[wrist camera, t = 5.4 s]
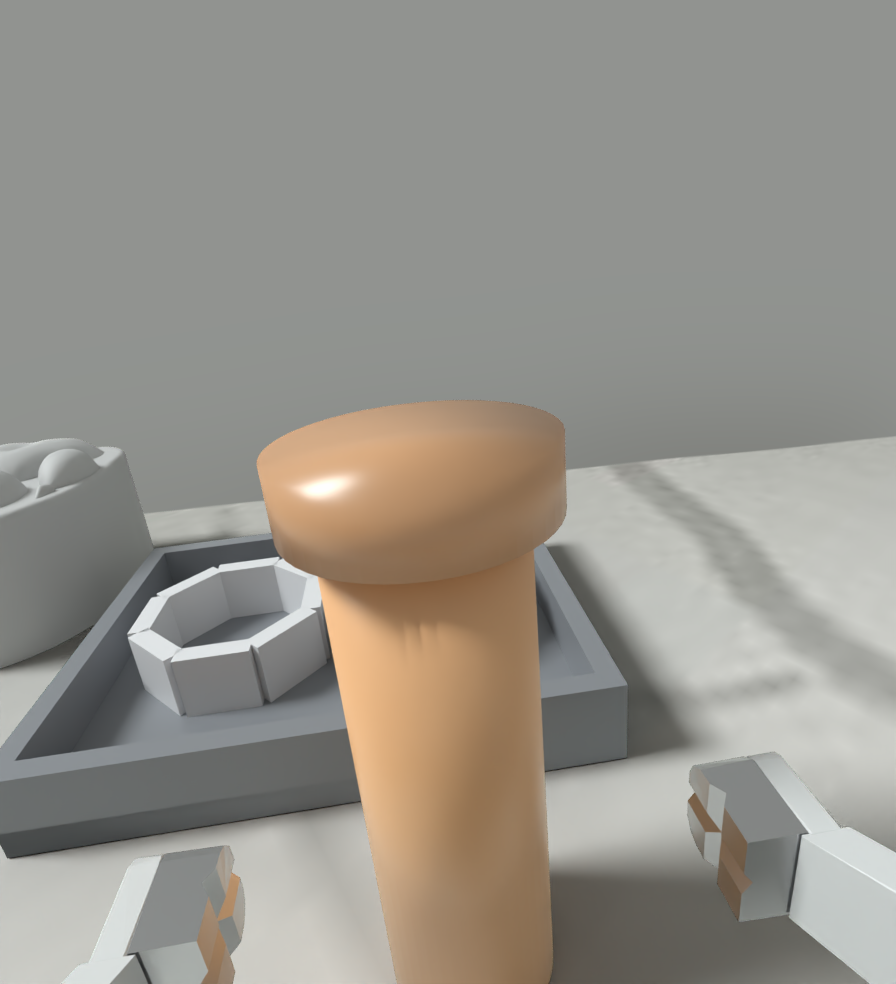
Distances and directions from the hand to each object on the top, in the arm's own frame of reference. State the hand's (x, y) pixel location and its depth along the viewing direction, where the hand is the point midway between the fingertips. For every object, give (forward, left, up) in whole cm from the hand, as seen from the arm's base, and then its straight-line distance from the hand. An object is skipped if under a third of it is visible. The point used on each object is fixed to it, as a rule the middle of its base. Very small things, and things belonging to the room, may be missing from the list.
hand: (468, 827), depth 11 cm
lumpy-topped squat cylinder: (-11, -31, -7) cm, 34 cm away
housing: (-11, -11, -7) cm, 17 cm away
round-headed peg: (-2, -1, -7) cm, 7 cm away
